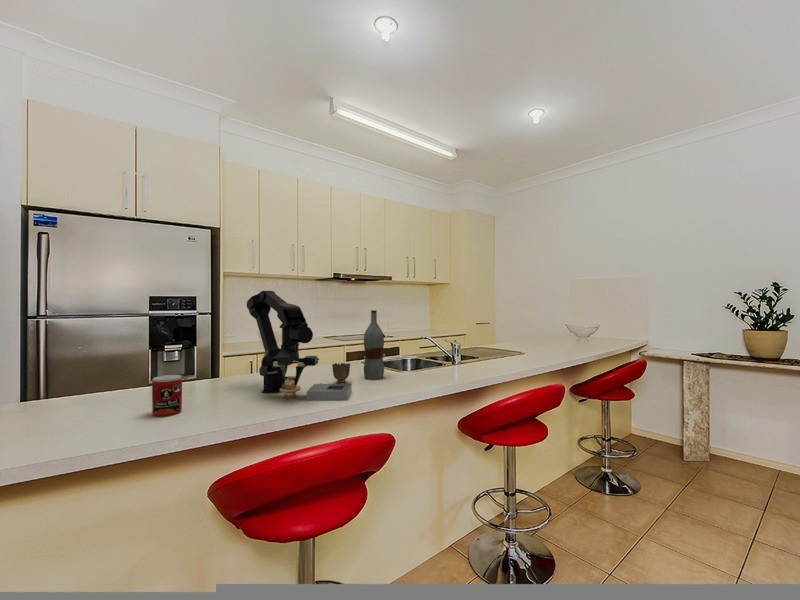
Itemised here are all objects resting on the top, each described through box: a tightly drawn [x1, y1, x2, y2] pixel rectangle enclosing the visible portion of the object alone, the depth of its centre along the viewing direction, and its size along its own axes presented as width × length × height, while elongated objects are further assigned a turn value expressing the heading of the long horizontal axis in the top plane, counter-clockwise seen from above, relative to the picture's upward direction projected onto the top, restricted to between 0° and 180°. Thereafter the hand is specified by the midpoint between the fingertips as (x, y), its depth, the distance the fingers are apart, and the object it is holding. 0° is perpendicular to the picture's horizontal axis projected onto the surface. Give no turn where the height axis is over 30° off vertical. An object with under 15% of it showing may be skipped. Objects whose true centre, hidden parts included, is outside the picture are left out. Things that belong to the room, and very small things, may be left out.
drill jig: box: [306, 383, 353, 401], centre depth 134 cm, size 14×12×3 cm
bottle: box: [363, 309, 385, 381], centre depth 165 cm, size 9×9×30 cm
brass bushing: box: [280, 375, 302, 399], centre depth 133 cm, size 7×7×7 cm
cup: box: [331, 362, 351, 384], centre depth 155 cm, size 8×7×8 cm
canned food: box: [151, 374, 183, 418], centre depth 114 cm, size 8×8×11 cm
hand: (290, 384), depth 133 cm, fingers closed on brass bushing, 4 cm apart
